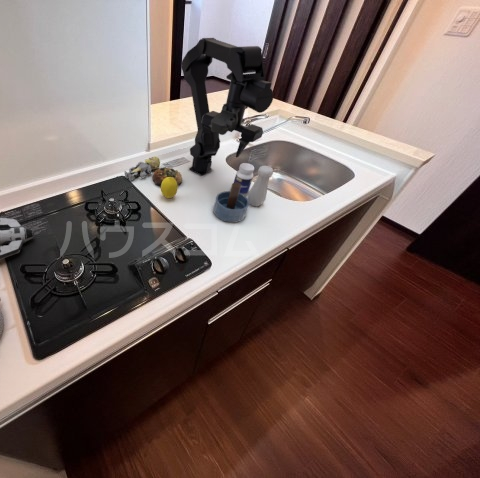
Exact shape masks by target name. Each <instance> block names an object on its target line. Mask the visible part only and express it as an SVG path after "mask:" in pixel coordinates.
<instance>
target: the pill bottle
mask: <svg viewBox="0 0 480 478" xmlns="http://www.w3.org/2000/svg"><path fill="white" fill-rule="evenodd" d="M254 172H255V167H254V165H253V164H251V163H248V162H242V163H240V165H239V167H238V170H236V172H235V176H234V179H233V183H234V182H238V183H240V184H241V188H240V192H239V193H240V194H242V195H244V196H245V197H246V196H248V193H249V191H250V189H251V186H252V182H253V180H254Z"/></svg>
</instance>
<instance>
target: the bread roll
mask: <svg viewBox="0 0 480 478" xmlns="http://www.w3.org/2000/svg"><path fill="white" fill-rule="evenodd" d="M167 177H172V178H174V179H175V180H176V182H177V186H178V185H181V184H182V182H183V175H182V174H181V172H180V171H179V170H178V169H174V168H173V167H171V168H170V167H166V166H164V167H159V168H157V169H155V171H153V173H152V180H153V182H154V183H155V185H157V186H158V187H161V183H162V181H163V180H164V179H165V178H167Z"/></svg>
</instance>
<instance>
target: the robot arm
mask: <svg viewBox="0 0 480 478" xmlns="http://www.w3.org/2000/svg"><path fill="white" fill-rule="evenodd" d="M213 59H215V60H217V61H219V62H222V63H224V64H225V65H226V68H227V69H228V71H230V73H229V74H227V75H226V80H229V81H230V82H229V88H228V92H227V97H226V101H225V103H223V106H222V108H221V111H220V112H218V111H215V110H211V111H210V107H209V105H210V104H209V99H208V93H207V85H206V80H207V78H208V75H209V66H210V65H211V64H212V63H213ZM181 70H182V74H183V78H184V80H185V82H186V83H187V84H188V86H190V90H191V91H190V92H191V98H192V103H193V110H194V116H195V122H196V128H197V132H196V135H195V138H194V144H193V146H191V147H190V148H189V154H190V156H192V165H191V167H189V169H188V170H189V171H191V172H193V173H195V174H197V175H200V176H204V175H206V174H208V173H210V172H211V171H212V170H213V168H212V164H213V161H212V158H213V157H216V156H217V153H218V152H219V150H220V147H221V139H220V136H225V135H226V134H227V133H228V132H230V133H233V132H234V131H235V132H238V133H240V137H241V138H239V139H238V141H239V143H238V147H237V150H236V153H235V158H236V159H237V158H239V157H240V155H241V154H242V153H243V152H244V150H245V149H246V147H247V146H248V145H249V144H250V143H254V142H256V141H257V140H259V139H261V138H262V137H263V134H264V130H263V127H262V126H260V125H259V126H258V125H256V124H252V123H251V124H249V125H246V126H245V125H243V124H244V123H245V118H244V115H245V111H246V110H247V109H248V108H249V109H251V110H252V111H254V112H256V113H259V114H260V113H264V112H265V111H267V110H268V109H269V108H270V106H271V105H272V103H273V101H274V91H273V89H272V88H271V87H272V82H271V81H266V70H265V66H264V58H263V52H262V48H261V46H258V45H249V46H248V45H247V46H237V45H234V44H231V43H228V42H224V41H223V40H222V41H221V40H219V39H216V38H215V37H202V38H200V39H199V40H198V42H197V43H196V45H194V46H193V47H191V48H190V49H189V50H188V51H187V52H186V53H185V56H183V58H182V59H181Z"/></svg>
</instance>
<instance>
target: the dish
mask: <svg viewBox="0 0 480 478" xmlns="http://www.w3.org/2000/svg"><path fill="white" fill-rule="evenodd" d="M1 301H2V298H1V297H0V302H1ZM4 323H5V321H4V315H3V311H2V310H1V308H0V336H1V334H2V332H3V331H4V330H3V329H4Z"/></svg>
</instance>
